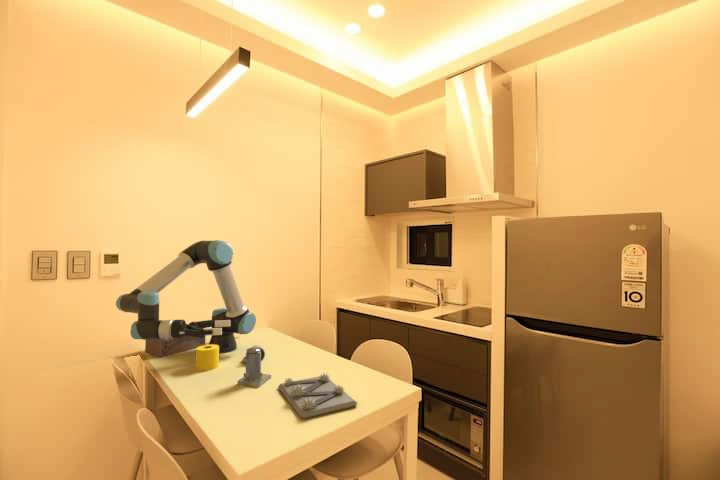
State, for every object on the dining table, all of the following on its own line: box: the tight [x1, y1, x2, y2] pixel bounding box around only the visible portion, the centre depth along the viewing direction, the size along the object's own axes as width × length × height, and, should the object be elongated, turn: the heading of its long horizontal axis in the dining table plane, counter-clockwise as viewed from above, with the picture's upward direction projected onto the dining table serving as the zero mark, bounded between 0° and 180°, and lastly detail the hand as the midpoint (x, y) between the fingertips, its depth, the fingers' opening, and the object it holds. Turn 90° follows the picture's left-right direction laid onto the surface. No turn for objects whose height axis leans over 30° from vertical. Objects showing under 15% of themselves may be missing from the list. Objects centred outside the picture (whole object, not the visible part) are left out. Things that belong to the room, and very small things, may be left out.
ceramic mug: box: [241, 344, 266, 363], centre depth 171 cm, size 11×8×8 cm
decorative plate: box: [277, 372, 358, 420], centre depth 130 cm, size 30×22×7 cm
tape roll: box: [195, 344, 220, 372], centre depth 161 cm, size 10×10×9 cm
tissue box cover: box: [144, 328, 206, 359], centre depth 189 cm, size 26×14×10 cm, turn 150°
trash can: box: [243, 347, 263, 380], centre depth 145 cm, size 8×6×12 cm
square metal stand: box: [237, 373, 272, 388], centre depth 144 cm, size 10×10×10 cm
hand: (226, 327), depth 144 cm, fingers open, 13 cm apart
